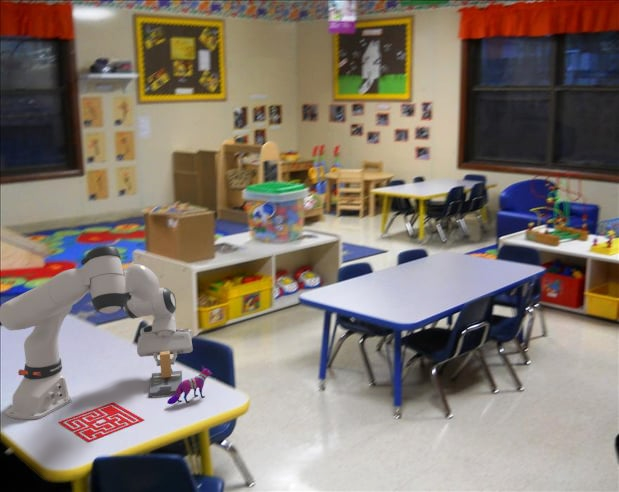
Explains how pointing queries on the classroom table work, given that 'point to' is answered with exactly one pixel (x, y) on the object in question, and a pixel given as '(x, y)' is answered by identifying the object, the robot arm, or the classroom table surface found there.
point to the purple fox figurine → (190, 386)
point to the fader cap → (165, 364)
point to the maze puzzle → (89, 432)
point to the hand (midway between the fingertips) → (165, 364)
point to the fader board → (165, 384)
